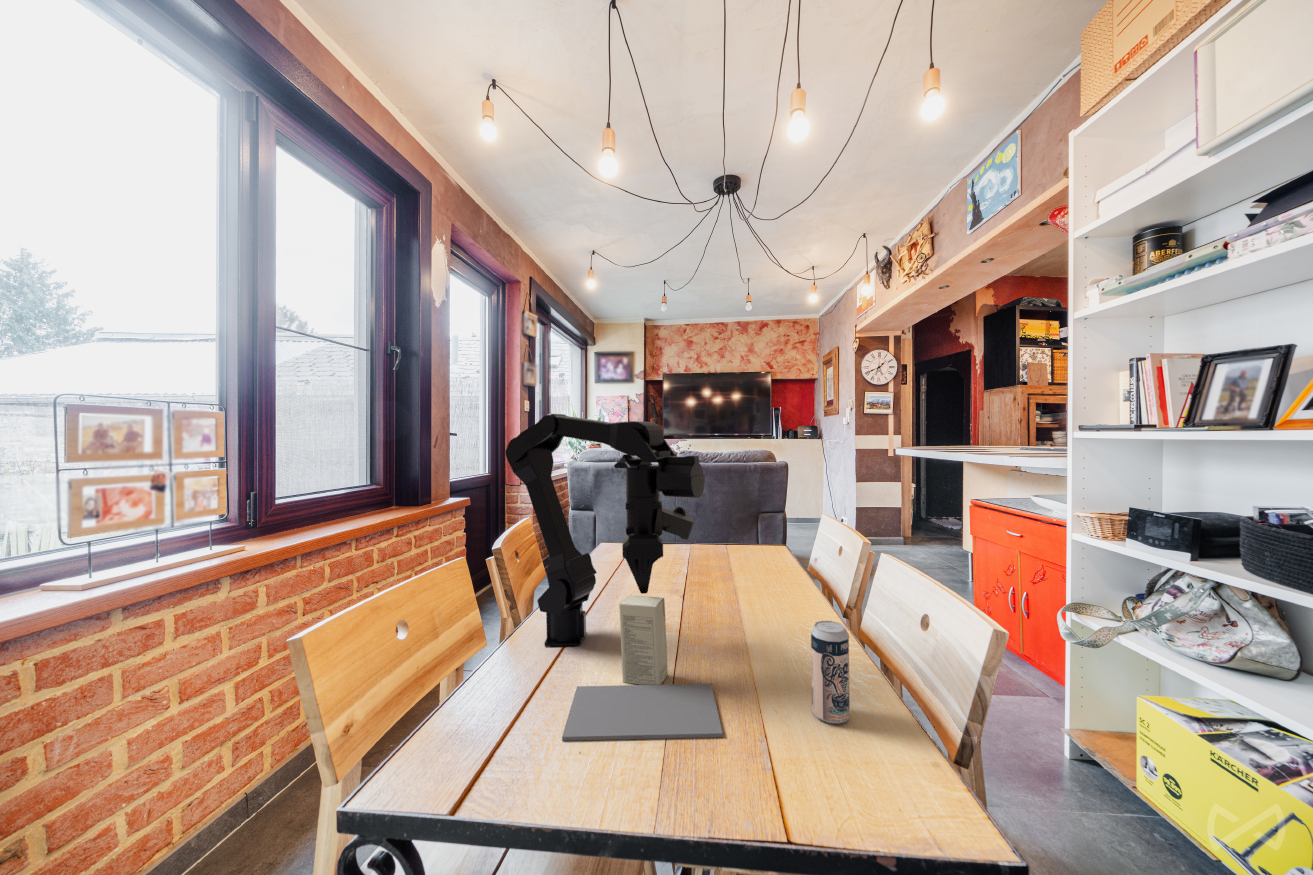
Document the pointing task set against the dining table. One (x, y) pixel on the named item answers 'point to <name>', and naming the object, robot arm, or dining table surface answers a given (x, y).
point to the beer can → (830, 672)
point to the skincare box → (643, 640)
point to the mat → (643, 712)
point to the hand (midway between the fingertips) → (644, 586)
